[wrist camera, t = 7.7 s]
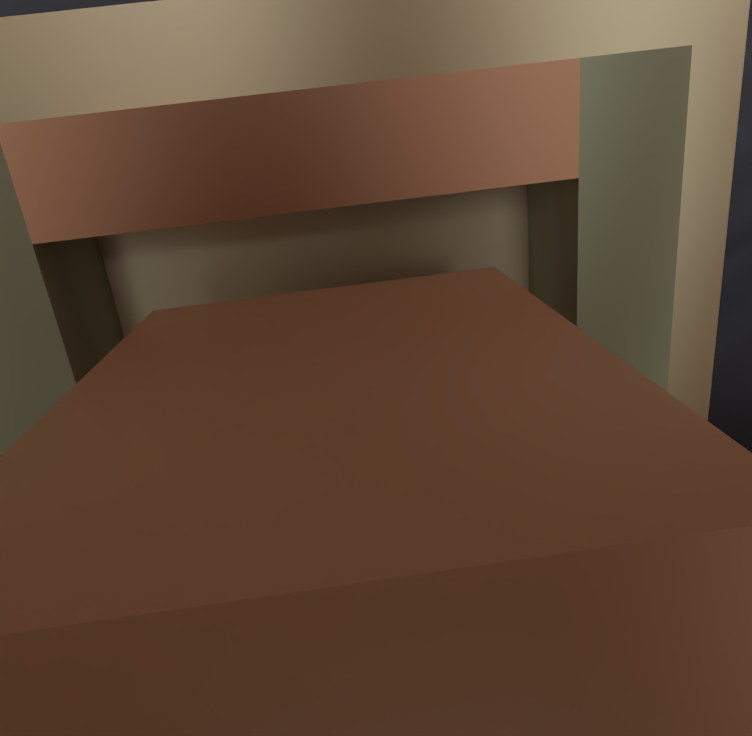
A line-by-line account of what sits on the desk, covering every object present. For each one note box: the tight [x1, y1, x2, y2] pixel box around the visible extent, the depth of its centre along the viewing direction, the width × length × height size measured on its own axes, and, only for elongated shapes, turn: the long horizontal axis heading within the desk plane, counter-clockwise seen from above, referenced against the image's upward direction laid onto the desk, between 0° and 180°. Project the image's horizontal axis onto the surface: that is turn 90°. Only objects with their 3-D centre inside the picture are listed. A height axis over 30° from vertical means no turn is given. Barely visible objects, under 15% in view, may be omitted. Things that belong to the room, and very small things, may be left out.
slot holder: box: [0, 0, 750, 457], centre depth 10 cm, size 12×16×2 cm
